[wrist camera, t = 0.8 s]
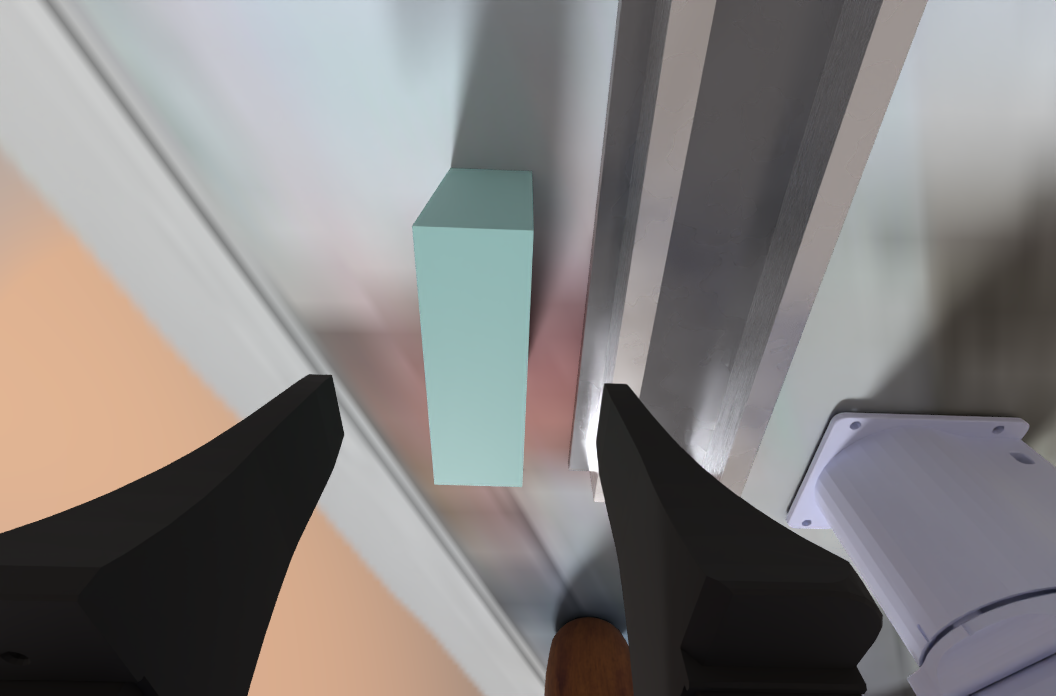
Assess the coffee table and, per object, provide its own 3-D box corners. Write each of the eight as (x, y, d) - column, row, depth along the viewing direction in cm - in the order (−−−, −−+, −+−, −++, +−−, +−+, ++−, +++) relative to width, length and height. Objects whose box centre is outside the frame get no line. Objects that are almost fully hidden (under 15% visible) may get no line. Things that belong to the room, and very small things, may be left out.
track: (934, -80, 14) (1009, -103, 12) (738, 466, 26) (758, 506, 24) (629, -95, 14) (647, -122, 12) (568, 462, 26) (571, 501, 23)
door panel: (532, 170, 18) (533, 230, 12) (524, 372, 23) (522, 486, 17) (450, 167, 18) (412, 226, 12) (459, 370, 23) (434, 484, 17)
